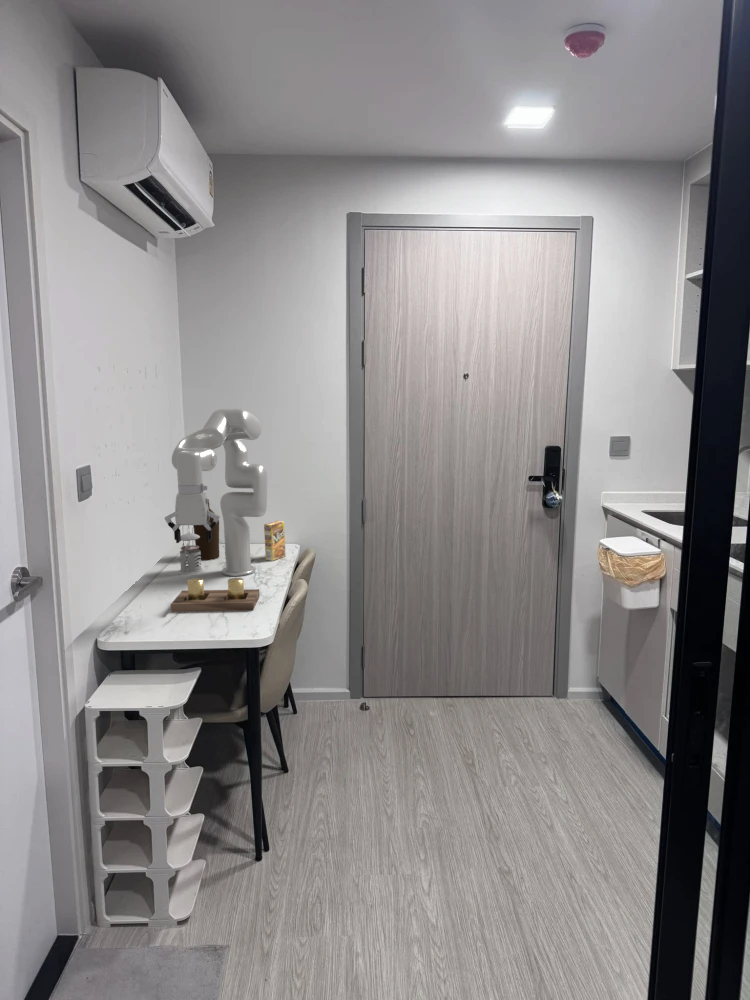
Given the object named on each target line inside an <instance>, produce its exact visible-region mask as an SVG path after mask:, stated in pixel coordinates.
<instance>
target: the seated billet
mask: <svg viewBox="0 0 750 1000" xmlns="http://www.w3.org/2000/svg"><path fill="white" fill-rule="evenodd" d="M227 590H228V594H229V600H237V599H244V590H245V583H244V578H242V577H232V578H228V579H227Z"/></svg>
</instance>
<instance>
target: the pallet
mask: <svg viewBox="0 0 750 1000" xmlns="http://www.w3.org/2000/svg"><path fill="white" fill-rule="evenodd" d="M204 596H205V600H189V594H188V590H181V591H180V593H179V594H178V595H177V596H176V597H175V599H174V600H173V601H172V602H171V603H170V611H171V613H174V612H175V613H177V612H183V613H184V612H185V613H186V612H187V613H188V612H234V611H236V612H238V611H243V612H245V611H254V610H255V607H256V606H257V604H258V601H259V598H260V588H259V589H258V588H256V589H254V588H253V589H244V599H237V600H229V594H228V589H204Z"/></svg>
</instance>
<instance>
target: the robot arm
mask: <svg viewBox="0 0 750 1000" xmlns="http://www.w3.org/2000/svg"><path fill="white" fill-rule="evenodd" d="M261 433H262V425H261V422H260V420H259V418H257V417H256V416H255V415H254V414H253V413H252V412H250V411H248V410H245V409H242V408H238V409H237V408H236V409H235V408H232V409H231V408H227V409H226V408H225V409H222V408H221V409H217V410H215V411H214V412H213V413H212V414H211V415H210V417H209V418H208V420H207V421H206V423H205V424H204V426H203V427H202V428H201V429H199V430H196V431H195V432H192V433H190V434H189V435H187V436H185V437H183V438H182V439H181V440H179V442H178V443H177V445H175V447H174V449H173V452H172V455H171V464H172V466H173V467H174V469H175V470H176V472H177V473H176V474H177V488H178V493H177V494H176V496H175V497H176V498H175V506H174V507H175V508H174V510H175V511H174V512H172V513H170V514H168V515H167V516H165V517H164V520H165V523H166V524H167V526H168V527H169V528H170V529H172V531H173V533H174V534H173V536H174V541H176V542H175V543H176V544H179V543H180V542H181V536H182V535H181V529H180V527H181V526H188V525H189V526H193V525H204V526H205V527H206V528H207V530H206V542H207V543H209V542H210V541H211V539H212V528H213V527H214V526H215V525H216V524H217V522H218V520H219V521H220V515H218V514H216V513H215V512H214V513H215V514H214V513H212V512H210V511H209V508H210V507H209V508H208V502H207V499H208V498H207V494H206V492H205V491H207V490H208V486H207V485H204V483H203V474H202V473H203V472H211V471H212V470H213V469H215V467H216V465H217V462H218V456H217V453H216V452H215V450H216V449H218V448H220V447H221V446H223V449H224V453H225V460H224V461H225V465H224V480H225V484H226V486H227V487H229V488H231V489H252V490H253V491H228V492H226V493H224V494H223V495H222V496H221V498H220V504H219V505H220V511H221V513H222V519H223V533H224V534H223V535H224V553H225V554H224V555H225V567H223V568H222V569H221V573H222V574H223V575H225V576H230V577H241V576H247V575H251V574H253V573H254V572H255V571H256V568H255V566H253V565H252V561H251V539H250V536H251V535H250V526H249V524H248V522H247V520H246V519H245V518H246V517H247V518H261V517H263V516H264V515H266V511H267V507H268V505H267V504H268V474H267V469H266V468H265V466H264V465H262V464H259V463H249V452H248V448H247V446H246V445H245V444H244V443H243V441H254V440H257V439H259V438H260V436H261ZM209 516H210V517H212V518H214V521H213V523H212V524H210V523H209V522H208V521H209ZM172 518H175V519H174V520H175V523H174V522H173V521H172Z"/></svg>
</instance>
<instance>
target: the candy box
mask: <svg viewBox="0 0 750 1000" xmlns="http://www.w3.org/2000/svg"><path fill="white" fill-rule="evenodd" d="M263 527H264V528H263V529H264V531H263V532H264V551H265V554H264V555H265V560H266V561H271V562H273V561H276V560H278V559H282V558H286V554H287V553H286V536H285V535H286V533H285V521H282V520H281V521H280V520H275V521H272V522H268V523H264V524H263Z"/></svg>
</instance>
